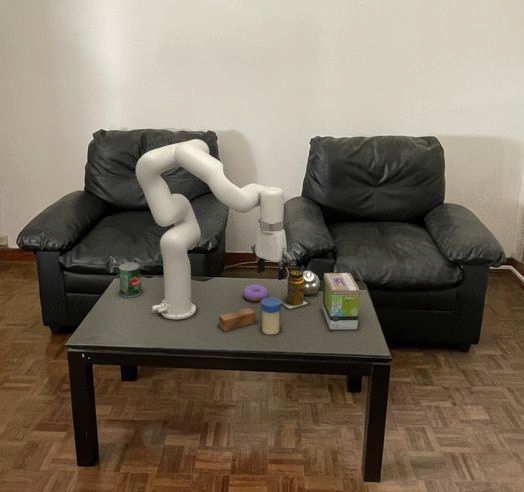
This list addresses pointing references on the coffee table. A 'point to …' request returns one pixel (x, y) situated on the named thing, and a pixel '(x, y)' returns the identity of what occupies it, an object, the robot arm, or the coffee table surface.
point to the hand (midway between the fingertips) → (271, 275)
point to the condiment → (295, 290)
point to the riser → (237, 319)
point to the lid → (270, 304)
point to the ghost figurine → (310, 283)
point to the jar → (270, 322)
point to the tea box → (340, 301)
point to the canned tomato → (130, 279)
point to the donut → (255, 292)
